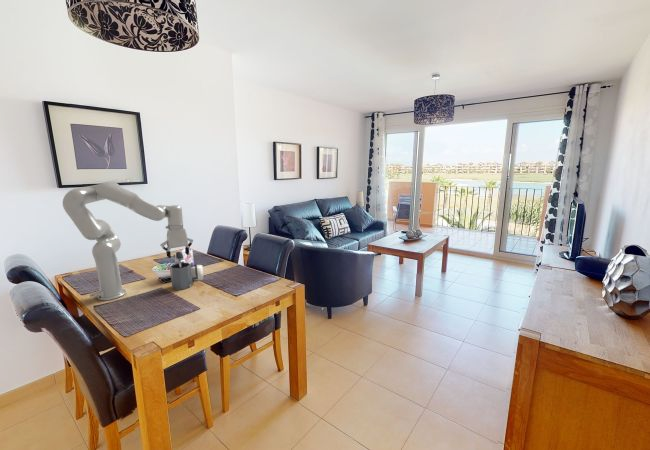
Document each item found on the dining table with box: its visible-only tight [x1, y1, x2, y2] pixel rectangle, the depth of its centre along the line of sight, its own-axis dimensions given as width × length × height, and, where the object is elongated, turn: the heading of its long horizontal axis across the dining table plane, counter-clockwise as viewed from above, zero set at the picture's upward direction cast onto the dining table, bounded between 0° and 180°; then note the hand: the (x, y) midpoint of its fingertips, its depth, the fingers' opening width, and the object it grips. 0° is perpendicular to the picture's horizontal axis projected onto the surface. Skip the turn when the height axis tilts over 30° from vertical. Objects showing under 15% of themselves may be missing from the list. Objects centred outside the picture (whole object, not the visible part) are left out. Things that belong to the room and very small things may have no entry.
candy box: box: [173, 247, 195, 265], centre depth 186 cm, size 14×6×16 cm, turn 179°
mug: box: [191, 264, 204, 282], centre depth 181 cm, size 7×9×8 cm
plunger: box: [174, 251, 185, 268], centre depth 167 cm, size 8×8×20 cm
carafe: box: [169, 263, 198, 291], centre depth 169 cm, size 14×10×13 cm
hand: (178, 256), depth 165 cm, fingers open, 9 cm apart
